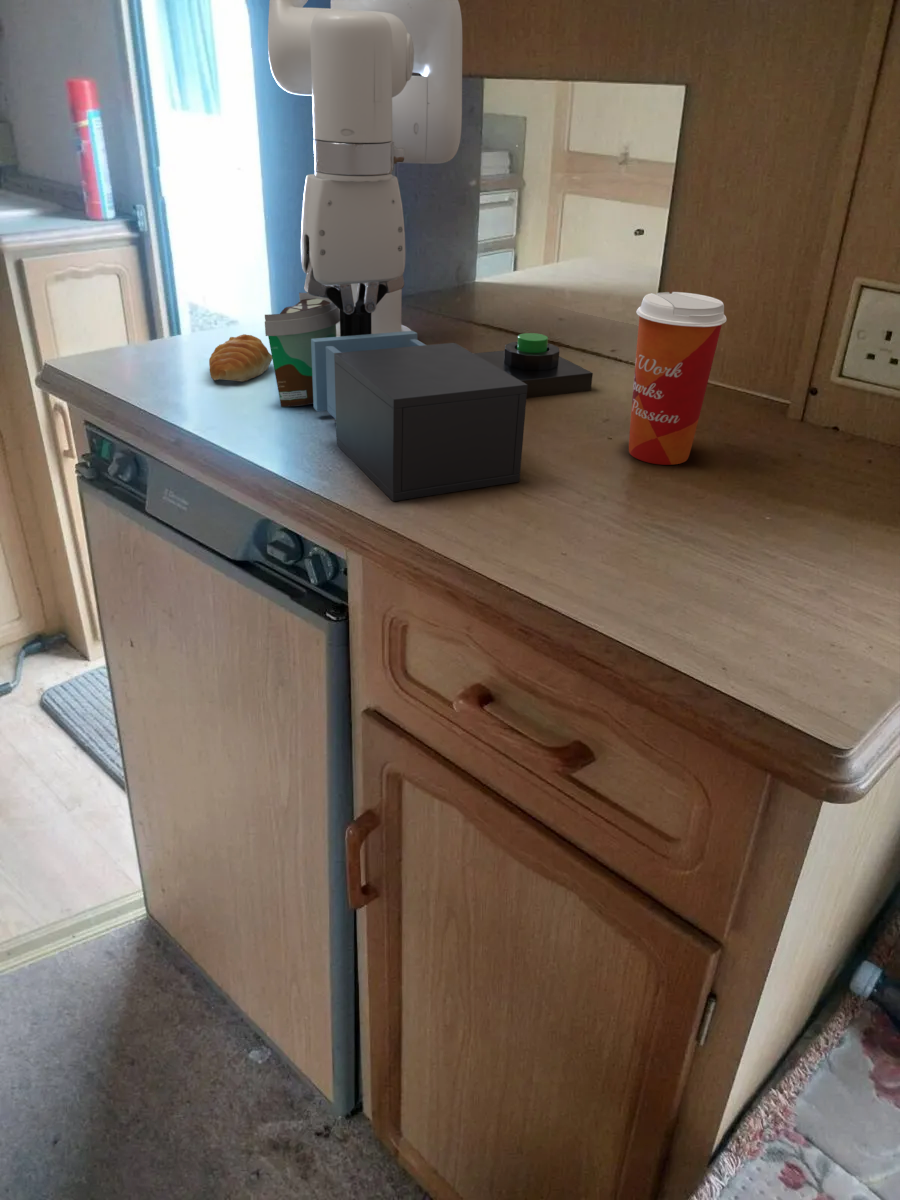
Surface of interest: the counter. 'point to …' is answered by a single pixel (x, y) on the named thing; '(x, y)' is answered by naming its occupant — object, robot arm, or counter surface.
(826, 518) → the counter surface
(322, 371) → the blue drawer
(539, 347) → the button
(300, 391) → the food container
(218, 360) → the pastry
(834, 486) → the counter surface
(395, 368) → the dark grey box
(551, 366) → the block
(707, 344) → the coffee cup
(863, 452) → the counter surface
